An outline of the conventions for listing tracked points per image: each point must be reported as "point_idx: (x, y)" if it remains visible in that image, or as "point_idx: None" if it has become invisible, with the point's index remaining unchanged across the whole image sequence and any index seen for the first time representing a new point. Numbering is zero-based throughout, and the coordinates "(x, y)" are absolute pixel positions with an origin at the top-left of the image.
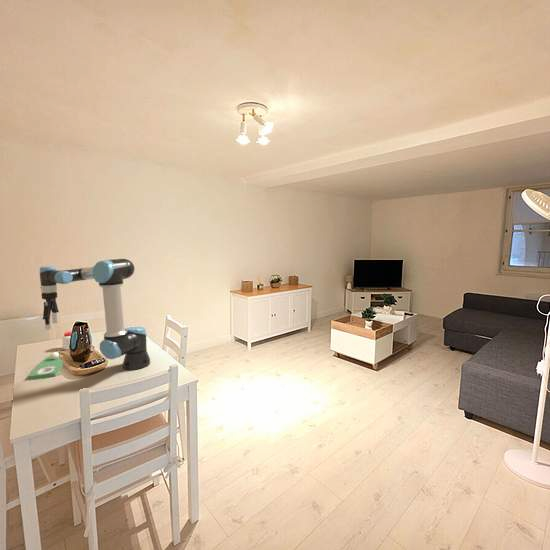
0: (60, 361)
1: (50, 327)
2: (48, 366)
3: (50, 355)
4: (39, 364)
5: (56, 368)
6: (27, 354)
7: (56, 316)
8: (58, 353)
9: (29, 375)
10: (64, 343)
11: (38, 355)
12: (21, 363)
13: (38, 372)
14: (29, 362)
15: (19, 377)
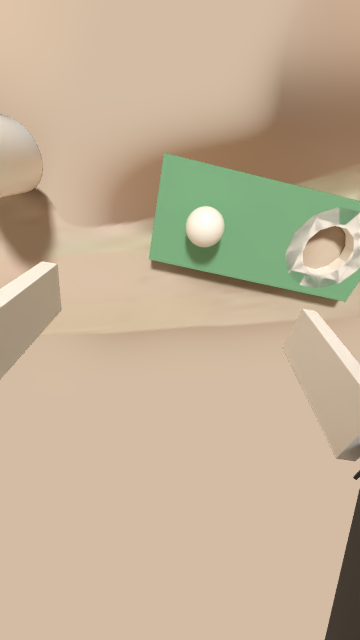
0: (258, 195)
1: (324, 326)
2: (290, 243)
3: (208, 246)
4: (237, 278)
5: (348, 208)
6: (56, 320)
7: (4, 313)
8: (207, 210)
9: (340, 299)
10: (15, 186)
11: (81, 287)
12: (150, 327)
13: (335, 274)
14: (152, 307)
15: (290, 320)
